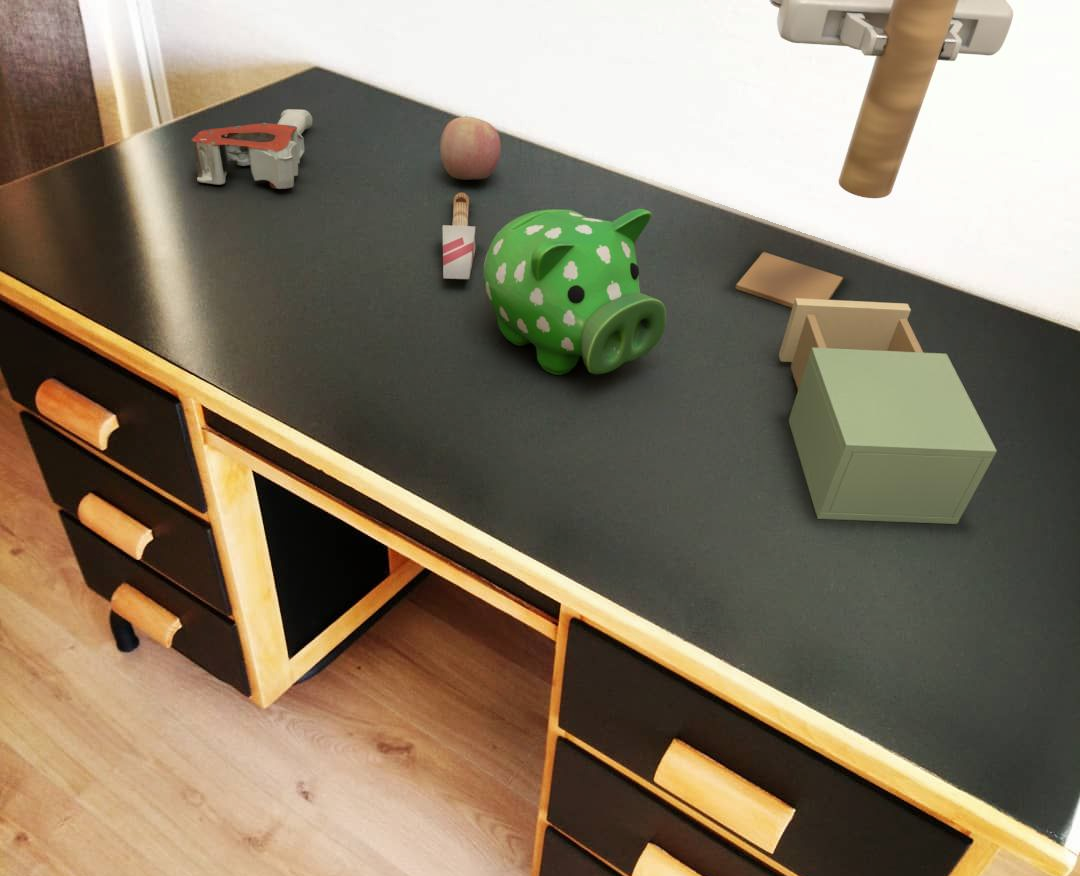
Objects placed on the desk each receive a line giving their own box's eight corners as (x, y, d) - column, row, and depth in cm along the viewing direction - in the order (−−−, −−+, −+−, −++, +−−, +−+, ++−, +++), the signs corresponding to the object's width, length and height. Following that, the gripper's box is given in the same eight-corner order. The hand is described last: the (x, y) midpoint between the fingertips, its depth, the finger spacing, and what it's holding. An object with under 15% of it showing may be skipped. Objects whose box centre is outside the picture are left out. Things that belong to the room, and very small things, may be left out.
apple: (510, 188, 122) (512, 126, 116) (457, 199, 119) (457, 136, 113) (482, 162, 126) (483, 102, 120) (431, 172, 123) (429, 110, 118)
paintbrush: (437, 265, 102) (446, 187, 116) (438, 288, 103) (447, 209, 118) (473, 266, 102) (477, 189, 116) (473, 289, 104) (477, 210, 118)
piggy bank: (566, 417, 90) (580, 278, 79) (455, 328, 99) (455, 192, 88) (671, 367, 97) (697, 232, 86) (558, 287, 106) (569, 157, 95)
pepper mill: (897, 183, 89) (988, -74, 74) (883, 203, 86) (975, -61, 71) (847, 168, 91) (925, -87, 76) (831, 188, 88) (910, -74, 72)
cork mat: (841, 281, 110) (843, 277, 110) (818, 316, 105) (819, 312, 104) (762, 256, 113) (763, 251, 113) (735, 289, 108) (736, 284, 107)
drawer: (776, 348, 99) (792, 291, 94) (882, 353, 99) (904, 296, 94) (802, 432, 89) (822, 373, 84) (919, 437, 90) (946, 379, 85)
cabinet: (788, 420, 92) (811, 347, 85) (914, 425, 92) (946, 353, 86) (817, 519, 82) (846, 444, 76) (957, 524, 83) (997, 451, 77)
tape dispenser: (306, 135, 132) (169, 160, 122) (302, 95, 129) (161, 118, 118) (374, 178, 123) (232, 209, 112) (373, 136, 119) (226, 164, 109)
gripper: (772, -51, 86) (803, -1, 76) (990, -36, 87) (1047, 15, 77) (756, 24, 90) (783, 80, 81) (963, 37, 91) (1014, 94, 82)
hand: (914, 48), depth 79 cm, fingers closed on pepper mill, 5 cm apart
